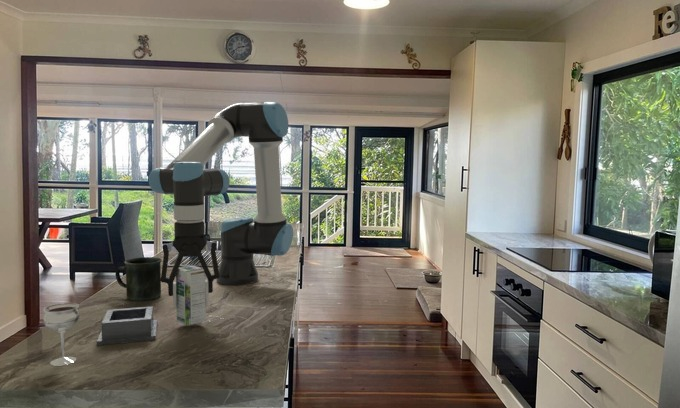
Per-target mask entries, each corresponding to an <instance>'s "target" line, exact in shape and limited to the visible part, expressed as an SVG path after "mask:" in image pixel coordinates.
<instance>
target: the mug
mask: <svg viewBox="0 0 680 408" xmlns="http://www.w3.org/2000/svg"><path fill="white" fill-rule="evenodd" d="M161 262H163V258H161V257H151V256H149V257H148V256H147V257H146V256H143V257H135V258H134V257H133V258H129V259H126V260H124V262H123V263H124V264H125V265H124V266H123V265H122V266H119V267H117V269H116V270H115V279H116V281H117V283H118V285H119V286H120V287H121V288H125V289H126V291H125V292H126V298H127V299H128V300H130V301H137V302H138V301H149V300H155V299H157V298H159V297H160V296H161V294H162V284H161V283H162V282H161V273H162V266H161ZM122 270H125V282H124V281H123V280H122V277H121V275H120V274H121V273H120V271H122Z"/></svg>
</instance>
